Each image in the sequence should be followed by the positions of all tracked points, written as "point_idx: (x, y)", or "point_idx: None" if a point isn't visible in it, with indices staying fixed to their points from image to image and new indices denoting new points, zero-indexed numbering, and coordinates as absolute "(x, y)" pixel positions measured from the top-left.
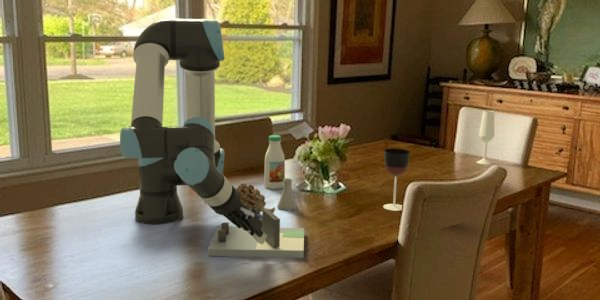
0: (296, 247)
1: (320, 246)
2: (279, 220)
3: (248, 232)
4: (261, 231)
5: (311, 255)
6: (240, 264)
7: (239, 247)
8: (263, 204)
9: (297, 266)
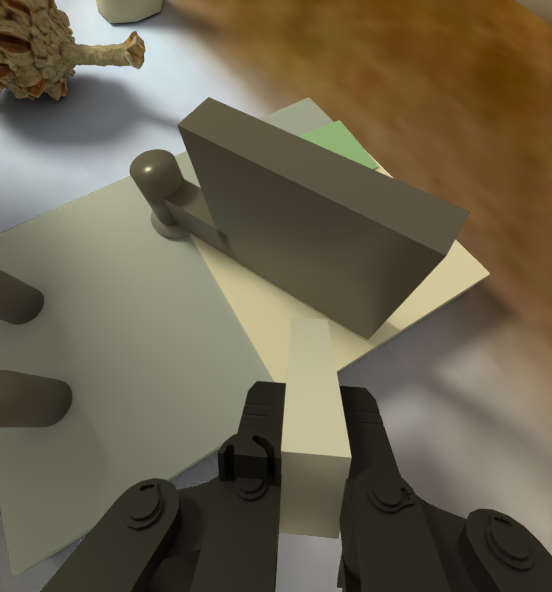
0: None
1: (428, 168)
2: (460, 223)
3: (286, 525)
4: (381, 427)
5: (470, 249)
6: (280, 552)
7: (187, 428)
8: (64, 27)
9: (524, 384)
